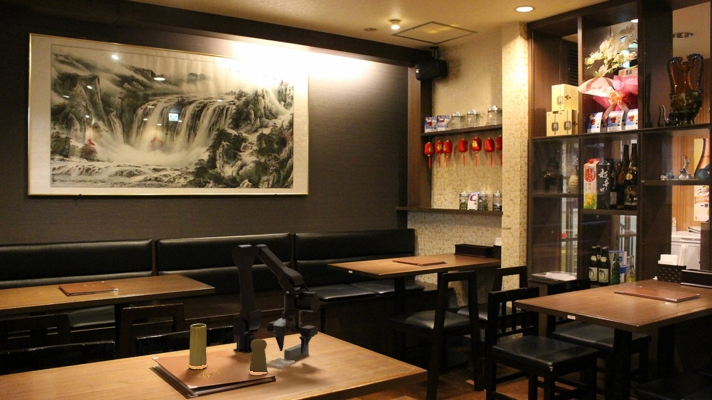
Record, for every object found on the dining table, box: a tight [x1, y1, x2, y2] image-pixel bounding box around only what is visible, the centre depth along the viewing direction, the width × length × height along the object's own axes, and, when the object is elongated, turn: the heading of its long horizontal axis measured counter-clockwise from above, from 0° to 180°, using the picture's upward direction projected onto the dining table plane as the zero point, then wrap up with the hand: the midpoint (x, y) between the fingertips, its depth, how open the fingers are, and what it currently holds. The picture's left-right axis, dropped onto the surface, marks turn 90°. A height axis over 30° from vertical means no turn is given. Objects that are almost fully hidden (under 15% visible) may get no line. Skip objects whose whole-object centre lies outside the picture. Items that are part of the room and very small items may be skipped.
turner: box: [266, 343, 310, 369], centre depth 212 cm, size 7×20×4 cm, turn 151°
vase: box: [188, 323, 208, 366], centre depth 201 cm, size 6×6×14 cm
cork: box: [249, 338, 268, 374], centre depth 196 cm, size 6×6×11 cm
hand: (291, 352), depth 213 cm, fingers open, 9 cm apart
